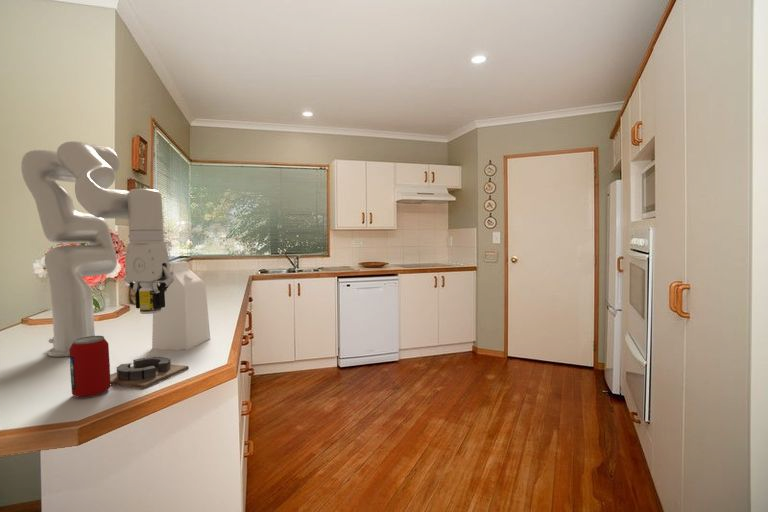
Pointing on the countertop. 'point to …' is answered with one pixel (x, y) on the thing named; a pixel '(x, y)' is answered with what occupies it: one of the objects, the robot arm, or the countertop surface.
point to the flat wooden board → (145, 372)
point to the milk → (182, 312)
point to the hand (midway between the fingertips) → (150, 307)
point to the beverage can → (89, 366)
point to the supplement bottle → (147, 298)
